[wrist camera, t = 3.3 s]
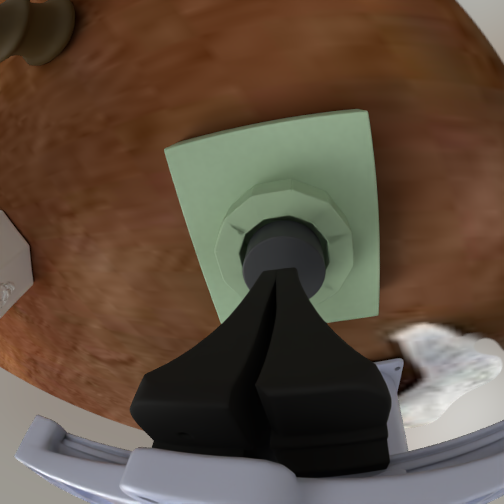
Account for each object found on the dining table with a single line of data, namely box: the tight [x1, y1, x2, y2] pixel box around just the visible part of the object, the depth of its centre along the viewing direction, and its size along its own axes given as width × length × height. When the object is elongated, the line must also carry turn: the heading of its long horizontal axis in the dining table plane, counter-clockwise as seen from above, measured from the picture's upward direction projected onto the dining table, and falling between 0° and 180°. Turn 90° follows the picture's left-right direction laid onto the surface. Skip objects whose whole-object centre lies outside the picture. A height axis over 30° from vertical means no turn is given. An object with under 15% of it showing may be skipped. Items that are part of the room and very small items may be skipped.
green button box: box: [164, 109, 380, 324], centre depth 16 cm, size 12×10×4 cm
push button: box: [242, 220, 326, 299], centre depth 14 cm, size 4×4×2 cm
